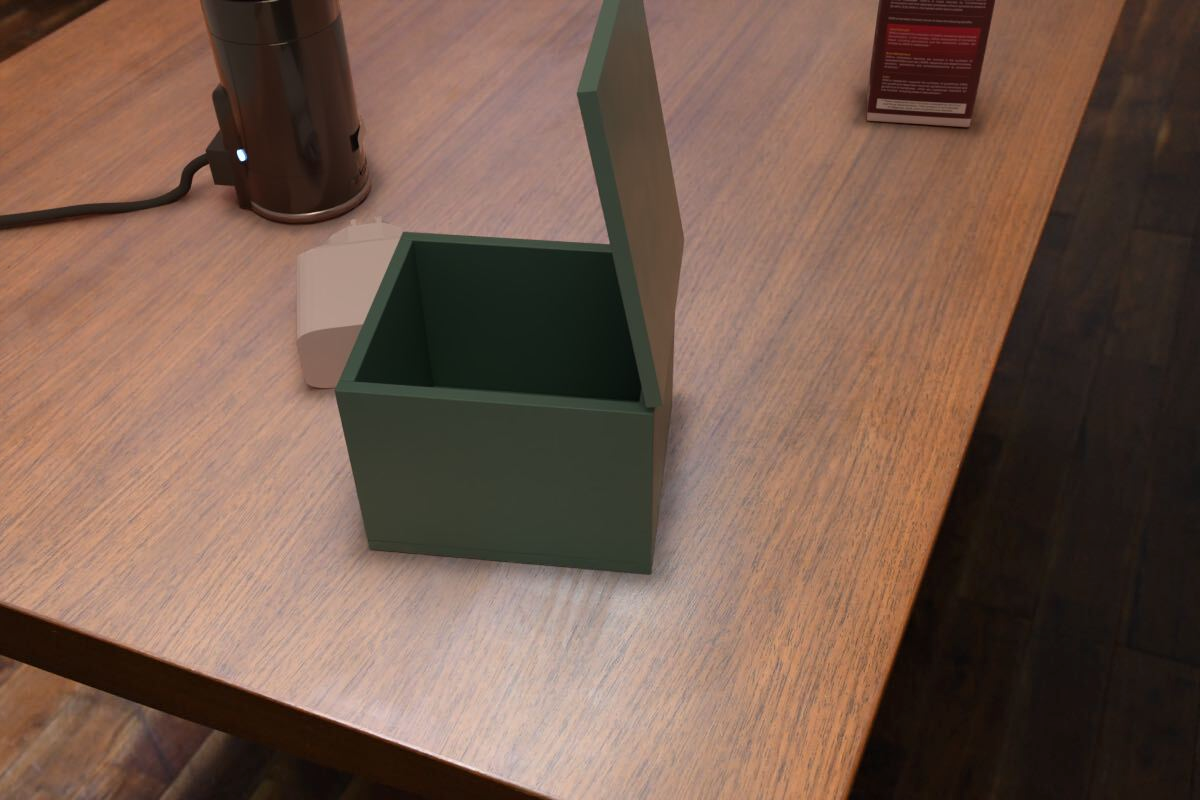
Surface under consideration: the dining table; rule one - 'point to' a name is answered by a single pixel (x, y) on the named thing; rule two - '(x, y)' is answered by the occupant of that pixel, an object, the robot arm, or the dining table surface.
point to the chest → (504, 407)
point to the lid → (634, 182)
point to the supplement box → (927, 60)
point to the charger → (339, 295)
